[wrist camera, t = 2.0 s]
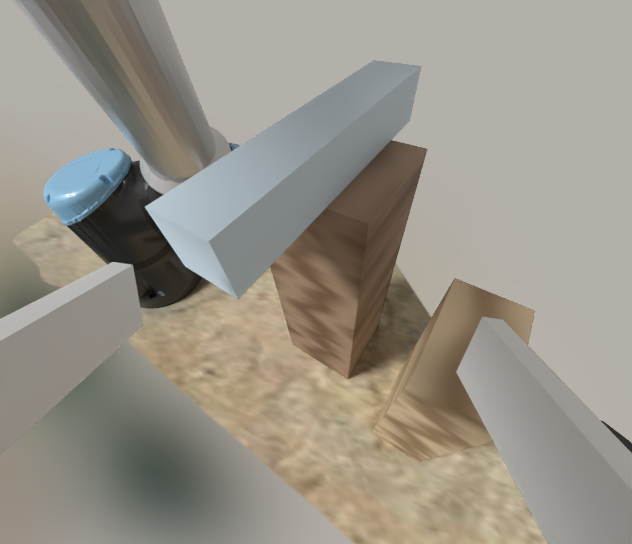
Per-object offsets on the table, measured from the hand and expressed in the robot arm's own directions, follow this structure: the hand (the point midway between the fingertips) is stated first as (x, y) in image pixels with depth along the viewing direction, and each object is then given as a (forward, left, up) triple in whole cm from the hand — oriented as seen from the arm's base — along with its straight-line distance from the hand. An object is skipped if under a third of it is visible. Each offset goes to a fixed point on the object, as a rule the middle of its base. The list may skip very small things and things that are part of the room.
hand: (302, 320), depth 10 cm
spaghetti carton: (-6, +11, -2) cm, 13 cm away
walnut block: (-6, +13, -32) cm, 35 cm away
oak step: (+8, +9, -32) cm, 34 cm away
